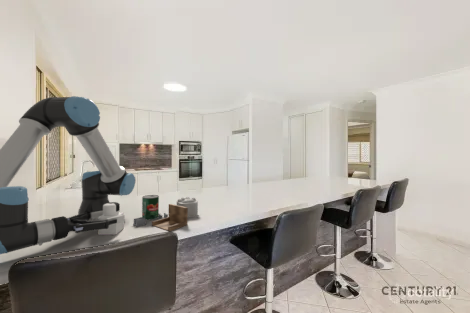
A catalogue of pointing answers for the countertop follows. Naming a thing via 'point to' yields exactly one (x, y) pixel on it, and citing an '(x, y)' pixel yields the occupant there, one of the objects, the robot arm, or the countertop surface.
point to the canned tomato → (150, 207)
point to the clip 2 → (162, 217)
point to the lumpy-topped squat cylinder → (189, 205)
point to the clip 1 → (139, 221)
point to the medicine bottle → (109, 212)
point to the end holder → (173, 218)
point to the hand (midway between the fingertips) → (115, 215)
